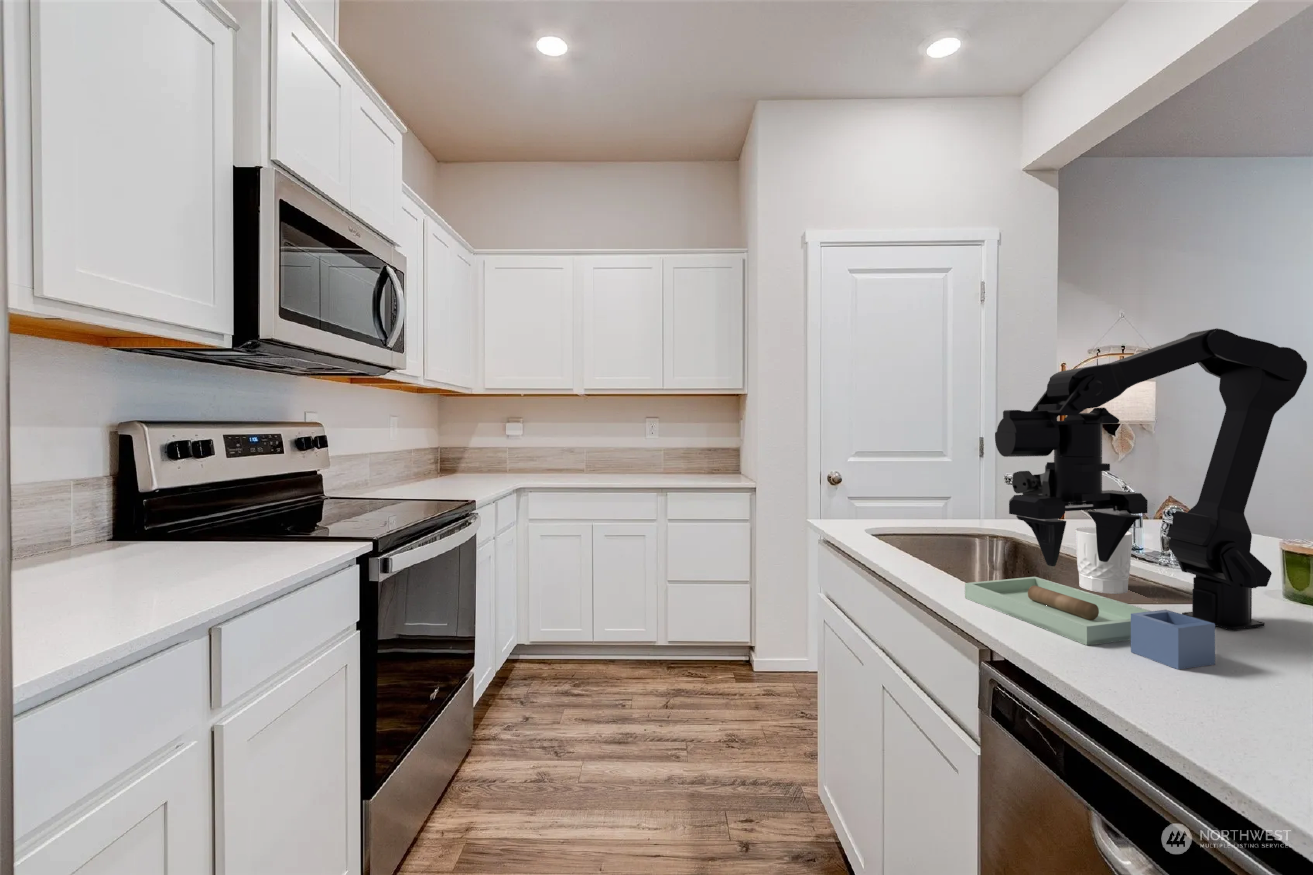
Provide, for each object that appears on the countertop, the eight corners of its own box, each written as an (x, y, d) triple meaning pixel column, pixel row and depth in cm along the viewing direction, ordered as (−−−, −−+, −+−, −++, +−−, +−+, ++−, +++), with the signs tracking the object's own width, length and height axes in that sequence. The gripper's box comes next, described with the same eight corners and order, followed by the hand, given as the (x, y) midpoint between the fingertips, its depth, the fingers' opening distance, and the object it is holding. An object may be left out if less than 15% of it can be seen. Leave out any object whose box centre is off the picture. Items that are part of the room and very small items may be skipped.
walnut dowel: (1072, 638, 87) (1031, 600, 97) (1105, 613, 86) (1060, 577, 95) (1062, 628, 86) (1022, 591, 96) (1095, 603, 85) (1051, 568, 95)
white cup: (1142, 596, 99) (1142, 535, 99) (1089, 594, 100) (1088, 535, 100) (1116, 583, 107) (1116, 527, 106) (1066, 582, 108) (1066, 526, 108)
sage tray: (1035, 591, 103) (1035, 576, 103) (1171, 634, 81) (1171, 616, 81) (964, 598, 100) (964, 583, 100) (1086, 645, 78) (1086, 626, 78)
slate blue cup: (1165, 647, 77) (1165, 609, 77) (1214, 664, 72) (1215, 623, 72) (1130, 651, 76) (1130, 613, 76) (1178, 669, 70) (1178, 628, 70)
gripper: (1079, 451, 96) (1079, 548, 97) (980, 455, 92) (980, 556, 93) (1150, 455, 86) (1150, 564, 86) (1041, 459, 81) (1041, 573, 82)
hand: (1077, 563), depth 87 cm, fingers open, 9 cm apart
